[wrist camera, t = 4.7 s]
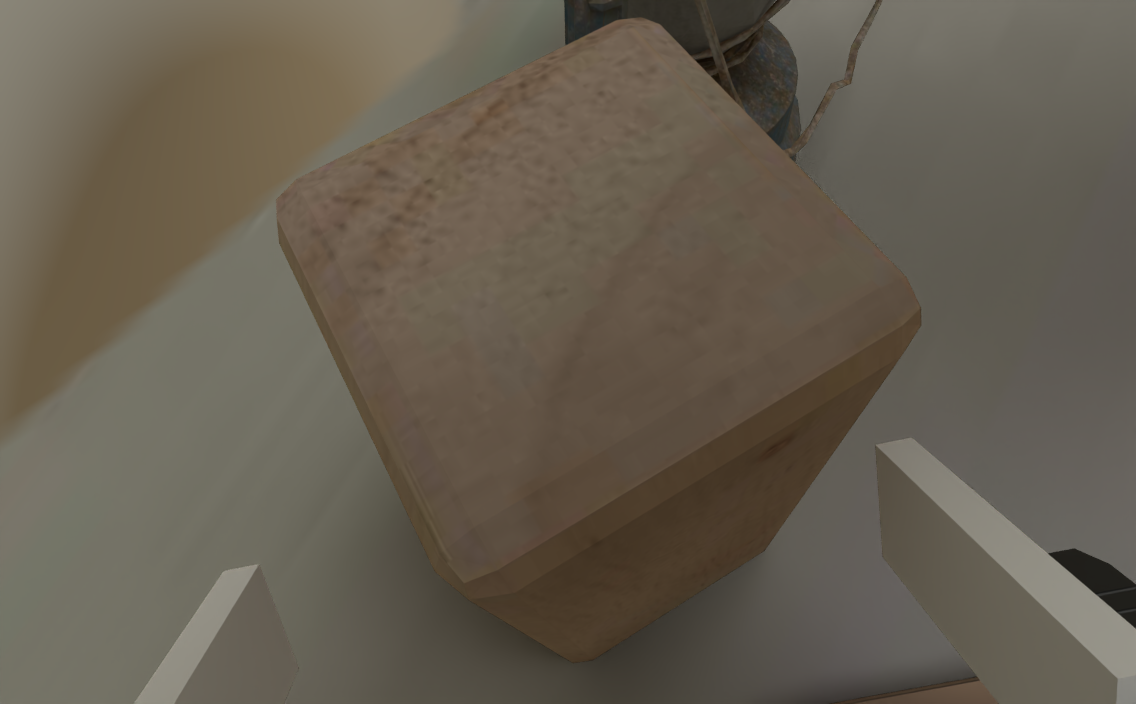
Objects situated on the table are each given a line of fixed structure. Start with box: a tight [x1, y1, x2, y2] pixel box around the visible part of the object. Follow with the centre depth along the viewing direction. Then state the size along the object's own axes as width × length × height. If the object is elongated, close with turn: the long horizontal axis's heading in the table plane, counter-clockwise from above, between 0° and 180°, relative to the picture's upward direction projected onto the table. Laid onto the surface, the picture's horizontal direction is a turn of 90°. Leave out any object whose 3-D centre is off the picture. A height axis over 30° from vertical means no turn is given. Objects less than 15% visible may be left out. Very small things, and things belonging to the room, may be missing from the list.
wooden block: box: [276, 17, 921, 663], centre depth 23 cm, size 10×10×20 cm
